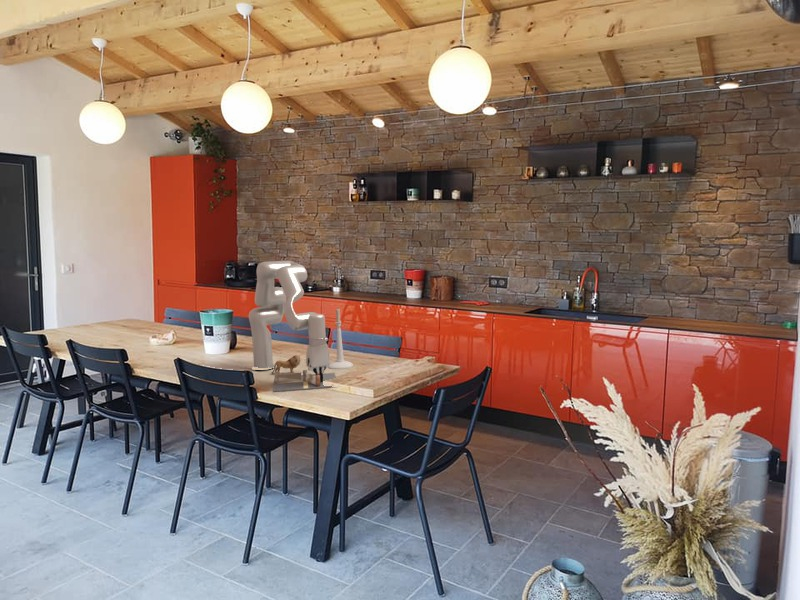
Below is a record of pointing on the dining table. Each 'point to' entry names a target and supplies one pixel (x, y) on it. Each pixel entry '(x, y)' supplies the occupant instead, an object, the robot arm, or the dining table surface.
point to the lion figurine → (287, 364)
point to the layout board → (302, 384)
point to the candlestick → (339, 348)
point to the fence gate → (313, 379)
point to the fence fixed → (289, 377)
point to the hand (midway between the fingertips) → (319, 381)
